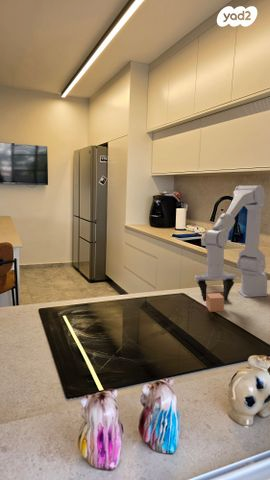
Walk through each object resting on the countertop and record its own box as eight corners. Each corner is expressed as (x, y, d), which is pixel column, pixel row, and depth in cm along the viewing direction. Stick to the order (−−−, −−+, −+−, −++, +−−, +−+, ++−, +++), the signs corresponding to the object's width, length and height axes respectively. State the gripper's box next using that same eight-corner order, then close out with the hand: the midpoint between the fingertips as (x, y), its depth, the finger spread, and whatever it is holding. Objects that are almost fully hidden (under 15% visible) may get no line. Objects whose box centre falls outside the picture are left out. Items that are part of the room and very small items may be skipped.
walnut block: (220, 294, 135) (220, 285, 134) (227, 301, 127) (227, 291, 126) (201, 295, 134) (201, 286, 134) (207, 302, 126) (207, 292, 126)
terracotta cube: (219, 305, 122) (219, 293, 121) (223, 311, 117) (224, 297, 117) (206, 306, 122) (206, 293, 121) (210, 311, 117) (210, 298, 116)
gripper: (197, 266, 113) (197, 304, 115) (239, 265, 113) (238, 302, 116) (193, 262, 119) (193, 297, 122) (232, 260, 120) (231, 296, 122)
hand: (214, 299), depth 119 cm, fingers open, 7 cm apart
